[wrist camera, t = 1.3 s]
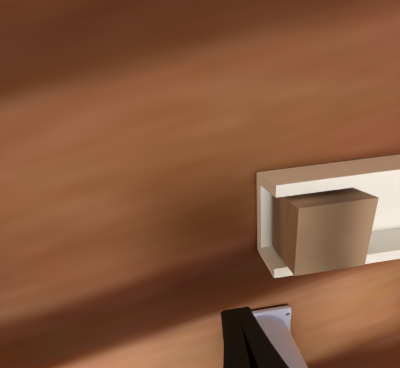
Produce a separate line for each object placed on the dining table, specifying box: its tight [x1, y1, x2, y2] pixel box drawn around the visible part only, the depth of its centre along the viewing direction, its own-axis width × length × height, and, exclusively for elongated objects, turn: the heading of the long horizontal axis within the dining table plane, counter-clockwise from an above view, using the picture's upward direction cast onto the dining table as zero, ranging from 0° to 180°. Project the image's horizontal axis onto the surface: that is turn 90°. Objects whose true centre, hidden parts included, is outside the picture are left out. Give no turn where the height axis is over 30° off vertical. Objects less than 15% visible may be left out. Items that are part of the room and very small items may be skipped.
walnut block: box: [272, 188, 379, 276], centre depth 16 cm, size 6×6×4 cm
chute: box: [256, 154, 400, 278], centre depth 18 cm, size 22×9×4 cm, turn 96°
